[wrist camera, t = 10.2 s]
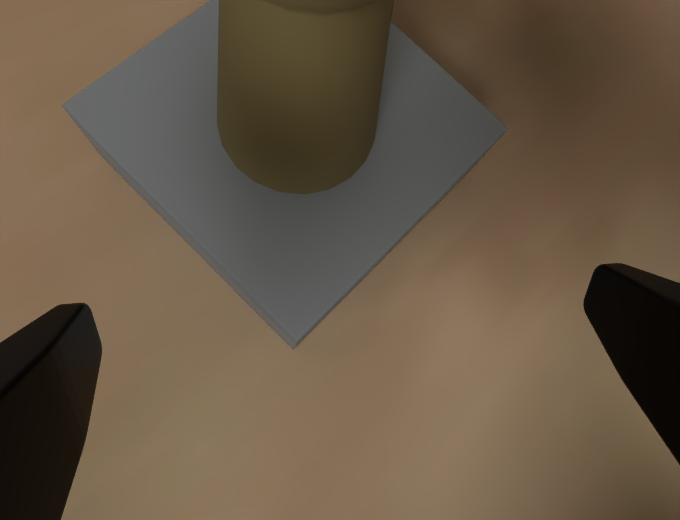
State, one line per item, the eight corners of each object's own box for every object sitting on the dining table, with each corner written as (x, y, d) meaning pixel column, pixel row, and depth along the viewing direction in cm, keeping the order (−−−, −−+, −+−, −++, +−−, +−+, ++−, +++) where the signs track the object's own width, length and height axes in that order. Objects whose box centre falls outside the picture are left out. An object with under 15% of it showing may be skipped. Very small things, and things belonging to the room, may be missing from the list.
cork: (388, 73, 19) (523, -304, 9) (360, 211, 18) (483, -43, 7) (239, 34, 19) (190, -411, 8) (197, 172, 17) (67, -161, 7)
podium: (470, 170, 23) (509, 128, 19) (293, 349, 20) (296, 342, 16) (295, 8, 24) (299, -63, 20) (101, 155, 21) (61, 105, 17)
